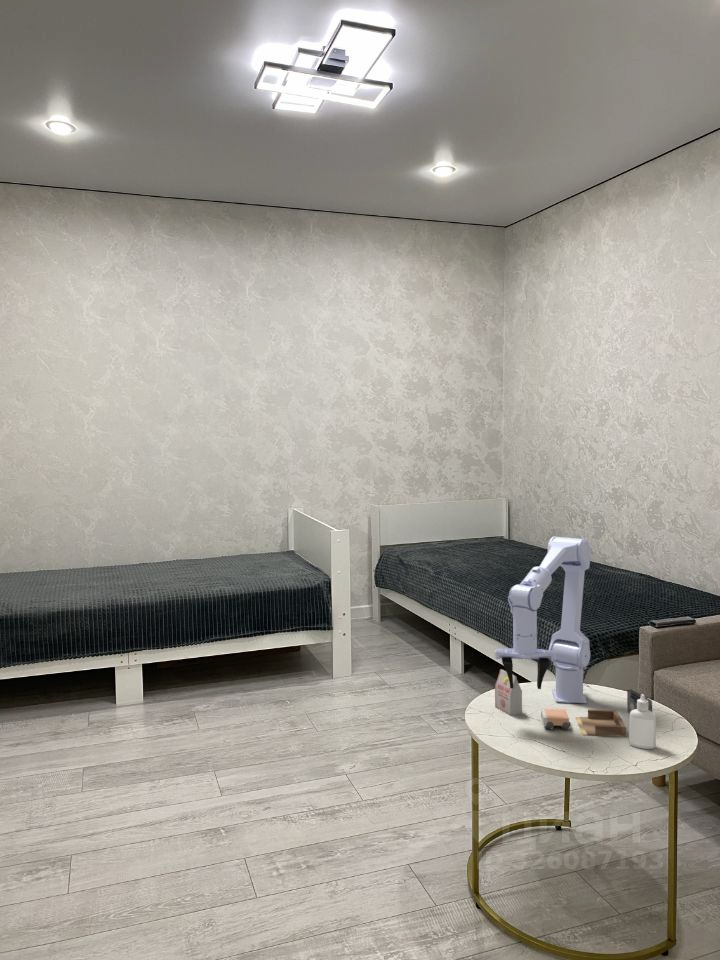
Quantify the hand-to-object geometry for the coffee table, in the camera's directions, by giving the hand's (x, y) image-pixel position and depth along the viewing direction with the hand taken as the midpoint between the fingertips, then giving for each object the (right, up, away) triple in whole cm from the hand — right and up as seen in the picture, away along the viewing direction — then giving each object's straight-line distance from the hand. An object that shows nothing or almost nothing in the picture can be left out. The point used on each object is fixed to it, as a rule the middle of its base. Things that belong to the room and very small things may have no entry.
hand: (525, 687), depth 185 cm
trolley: (+8, -9, 0) cm, 12 cm away
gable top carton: (-2, -9, +11) cm, 14 cm away
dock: (+18, -9, -2) cm, 21 cm away
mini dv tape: (+30, -9, +4) cm, 31 cm away
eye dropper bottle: (+24, -10, -13) cm, 29 cm away
